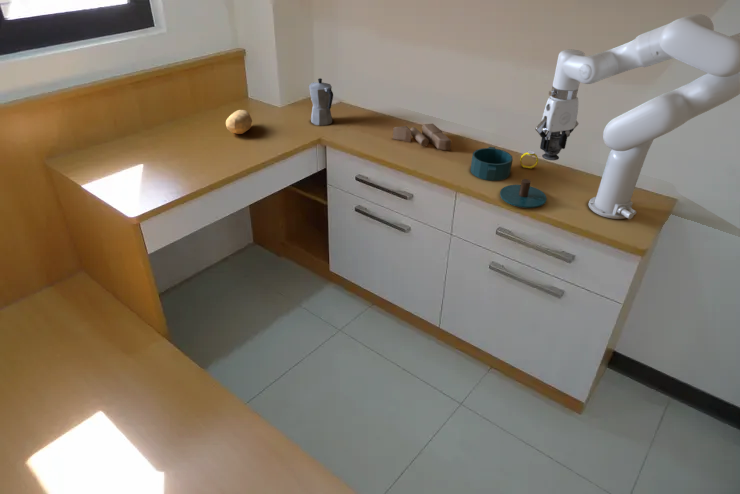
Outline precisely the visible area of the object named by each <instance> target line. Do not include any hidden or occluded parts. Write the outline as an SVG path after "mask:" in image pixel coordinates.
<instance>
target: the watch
mask: <svg viewBox="0 0 740 494" xmlns="http://www.w3.org/2000/svg"><path fill="white" fill-rule="evenodd" d="M527 155H528V156H531V157H532V156H534V157H535V158H536V161H535V163H534V164H532V165H531V166H530V165H524V164H523V162H522V161H523V158H524V157H526V156H527ZM519 163H520V166H521V167H522V168H524V169H530V170H532V169H534V168H536V166H537V165H538V164H539V157H538V155H537V154H536V152H535V151H533V150H526V152H524V153H523V154H522V155H520V158H519Z"/></svg>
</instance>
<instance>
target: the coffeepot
mask: <svg viewBox="0 0 740 494" xmlns="http://www.w3.org/2000/svg"><path fill="white" fill-rule="evenodd" d="M317 81H318V82H317ZM317 81H314V82H310V84H309V85H308V88H309V89H308V90H309V93H310V99H311V103H312V106H311V107H312V109H311V116H310V123H311V124H312V125H315V126H321V127H322V126H328V125H331V124H332V123H333V117H332V112H331V108H332V106H333V100H334V91H333V90H332V89H333V86H332V85H331V83H327V82H323V79H322V78H321V77H320V78H319V77H318V79H317Z"/></svg>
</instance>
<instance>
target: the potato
mask: <svg viewBox="0 0 740 494" xmlns="http://www.w3.org/2000/svg"><path fill="white" fill-rule="evenodd" d="M252 124H253V119H252V116H251V114H250V112H248V111H247V110H245V109H237V110H236V111H234V112H232V113H231V114H230V115H229V116H228V117H227V118H226V120H225V127H226V129H227V130H228V131H229V132H230V133H233V134H235V135H241V134H244V133H247V131H248V130H250V129H251V128H252Z"/></svg>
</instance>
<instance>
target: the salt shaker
mask: <svg viewBox="0 0 740 494" xmlns="http://www.w3.org/2000/svg"><path fill="white" fill-rule="evenodd" d="M560 134H561V131H559V132H552V133H551V135H550V137H549V140H550V142H549V147H548V151H547V152H545V151H543V152H544V153H543V154H542V155H541V157H542V158H543V159H544V160H548V161H559V159H560V157H559V155H558V154H560V152H562V151H561V150H563V149H562V147H561V146H560V145H559V138H560V137H561V135H560Z"/></svg>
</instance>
